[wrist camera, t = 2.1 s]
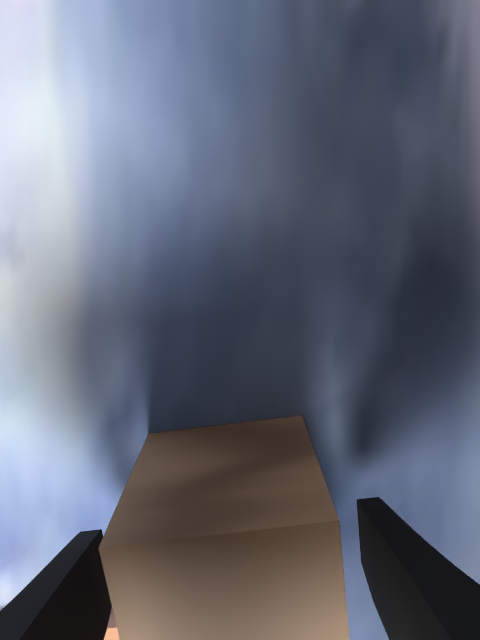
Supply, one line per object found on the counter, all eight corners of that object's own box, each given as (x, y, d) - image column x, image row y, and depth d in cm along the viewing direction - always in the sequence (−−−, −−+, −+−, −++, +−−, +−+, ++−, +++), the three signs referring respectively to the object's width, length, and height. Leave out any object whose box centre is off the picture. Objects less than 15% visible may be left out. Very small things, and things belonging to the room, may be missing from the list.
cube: (301, 413, 13) (339, 520, 8) (315, 545, 14) (355, 708, 9) (149, 432, 13) (98, 547, 8) (173, 561, 14) (140, 731, 10)
